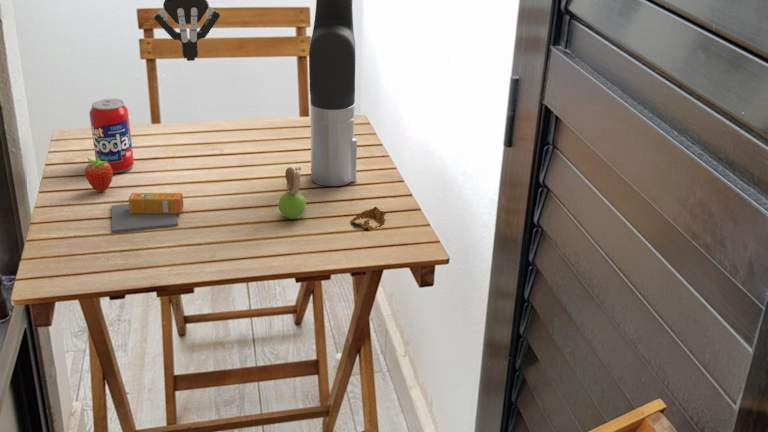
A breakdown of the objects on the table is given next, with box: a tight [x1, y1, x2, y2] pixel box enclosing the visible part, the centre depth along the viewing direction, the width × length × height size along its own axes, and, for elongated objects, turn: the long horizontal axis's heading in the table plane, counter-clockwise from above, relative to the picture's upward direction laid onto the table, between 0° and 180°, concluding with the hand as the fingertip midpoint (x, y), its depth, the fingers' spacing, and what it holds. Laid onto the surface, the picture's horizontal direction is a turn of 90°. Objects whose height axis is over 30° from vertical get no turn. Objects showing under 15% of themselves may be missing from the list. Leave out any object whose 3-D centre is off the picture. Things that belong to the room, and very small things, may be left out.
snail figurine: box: [277, 166, 307, 220], centre depth 161 cm, size 5×6×12 cm
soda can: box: [88, 98, 135, 174], centre depth 180 cm, size 8×8×15 cm
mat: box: [111, 203, 179, 234], centre depth 163 cm, size 12×11×1 cm
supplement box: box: [128, 192, 184, 214], centre depth 164 cm, size 3×3×10 cm
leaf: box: [350, 206, 386, 231], centre depth 164 cm, size 6×7×2 cm
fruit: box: [84, 156, 114, 193], centre depth 171 cm, size 5×5×8 cm
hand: (190, 59), depth 166 cm, fingers closed
